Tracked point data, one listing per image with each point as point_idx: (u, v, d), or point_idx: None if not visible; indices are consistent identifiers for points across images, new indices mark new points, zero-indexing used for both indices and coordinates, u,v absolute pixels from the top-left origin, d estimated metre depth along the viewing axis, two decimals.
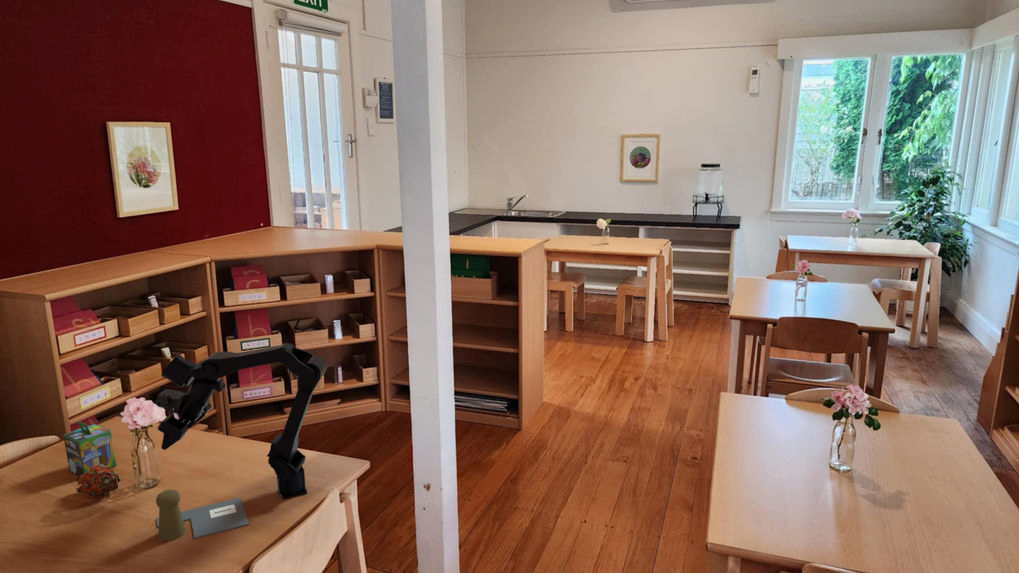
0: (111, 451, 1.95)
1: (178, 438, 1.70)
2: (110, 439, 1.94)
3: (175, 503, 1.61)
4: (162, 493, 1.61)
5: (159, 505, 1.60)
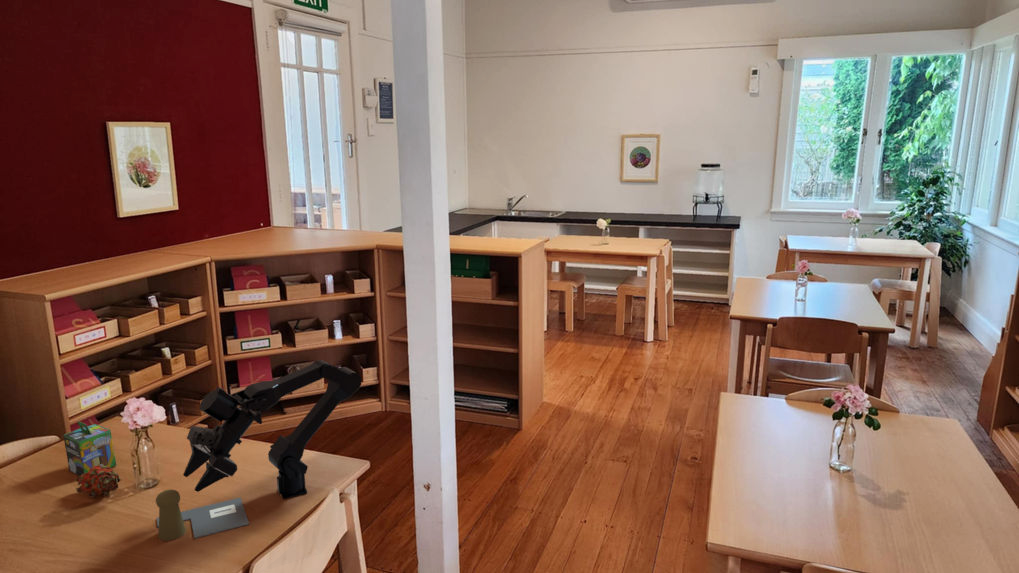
0: (111, 451, 1.95)
1: (233, 474, 1.62)
2: (110, 439, 1.94)
3: (175, 503, 1.61)
4: (162, 493, 1.61)
5: (159, 505, 1.60)
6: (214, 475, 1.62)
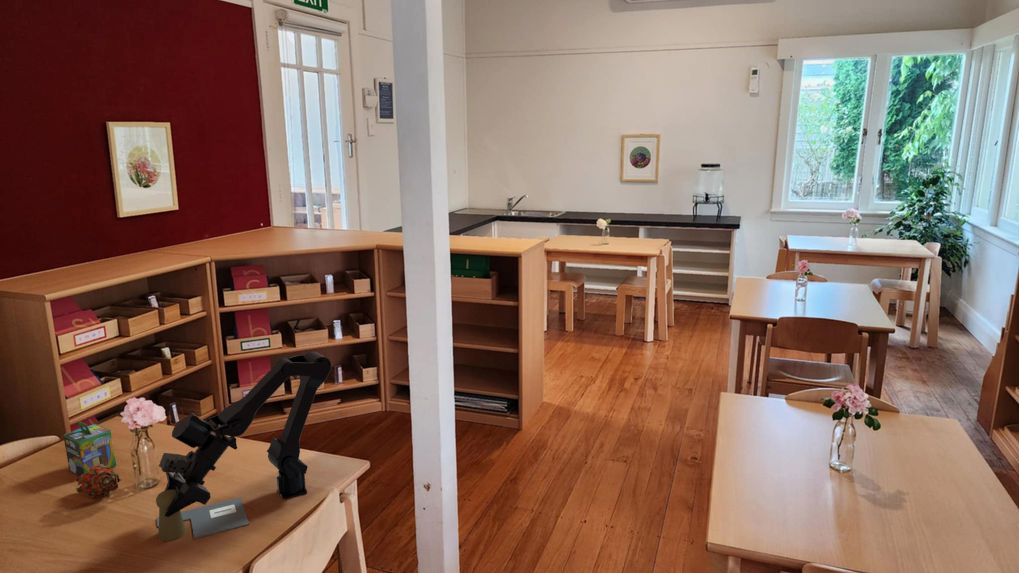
0: (111, 451, 1.95)
1: (206, 502, 1.59)
2: (110, 439, 1.94)
3: None
4: (162, 493, 1.61)
5: (159, 505, 1.60)
6: (184, 500, 1.61)
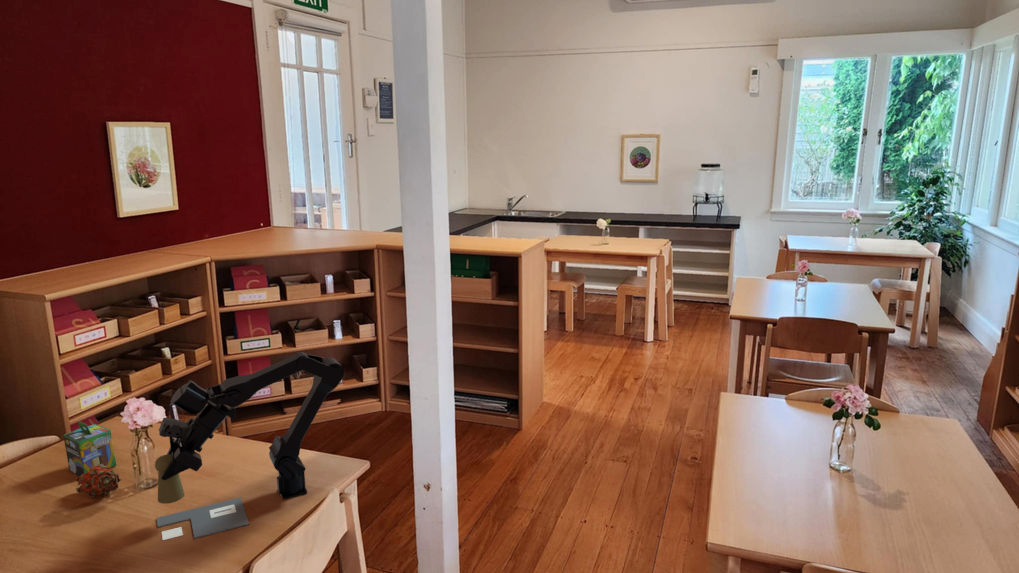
0: (111, 451, 1.95)
1: (197, 469, 1.60)
2: (110, 439, 1.94)
3: None
4: (161, 457, 1.65)
5: (157, 468, 1.63)
6: (180, 465, 1.63)
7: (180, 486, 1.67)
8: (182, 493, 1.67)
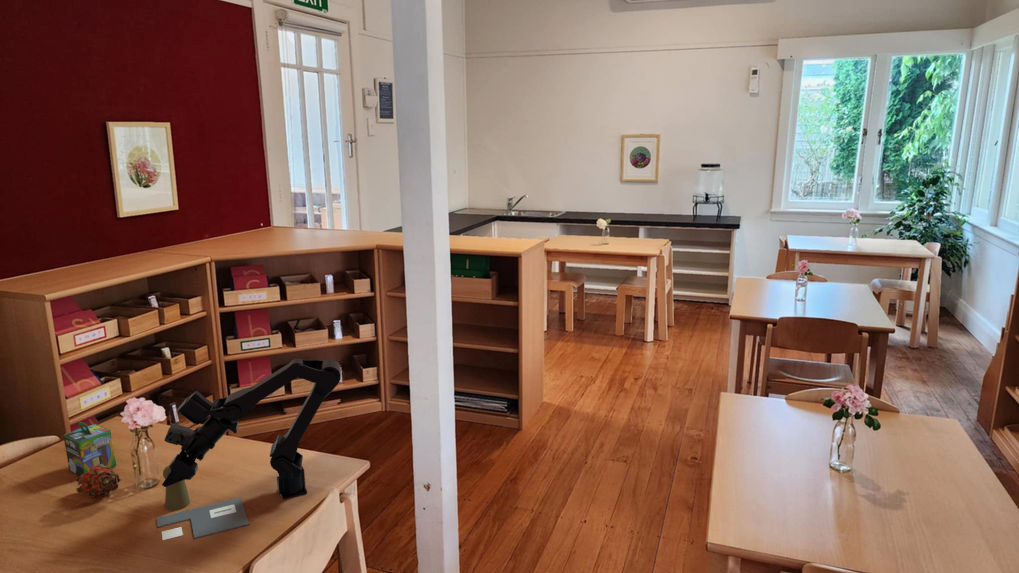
0: (111, 451, 1.95)
1: (190, 478, 1.67)
2: (110, 439, 1.94)
3: None
4: None
5: (163, 476, 1.73)
6: (178, 475, 1.69)
7: (185, 495, 1.75)
8: (186, 502, 1.76)
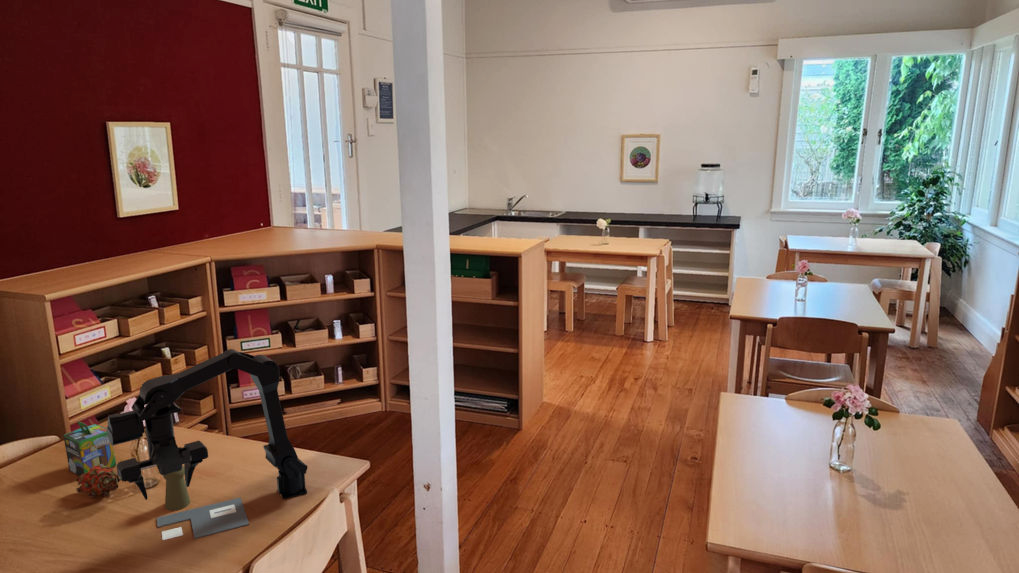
0: (111, 451, 1.95)
1: None
2: None
3: (176, 477, 1.73)
4: None
5: (163, 476, 1.73)
6: None
7: (185, 495, 1.75)
8: (186, 502, 1.76)
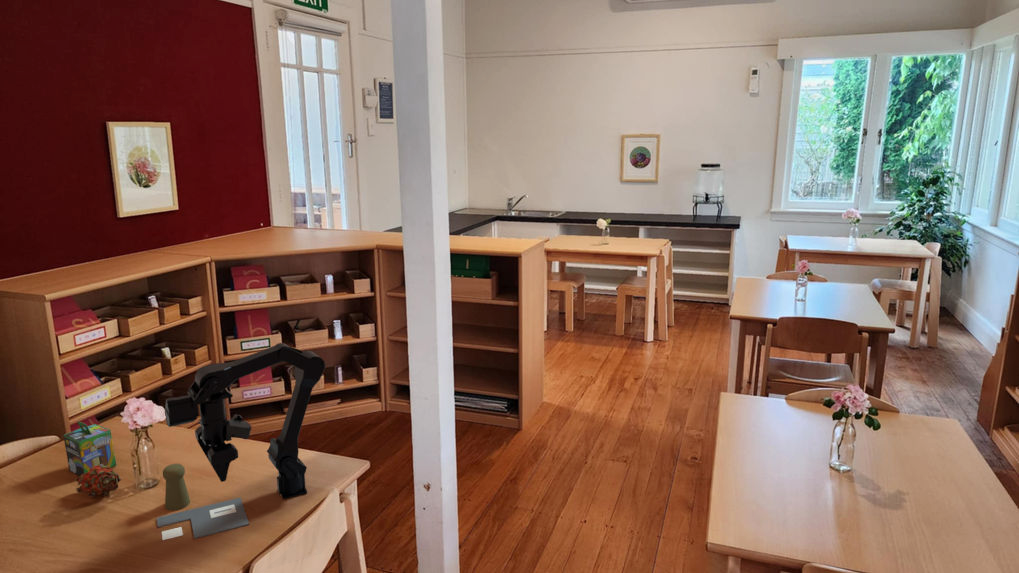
0: (111, 451, 1.95)
1: None
2: (110, 439, 1.94)
3: (176, 477, 1.73)
4: (169, 466, 1.74)
5: (163, 476, 1.73)
6: None
7: (185, 495, 1.75)
8: (186, 502, 1.76)
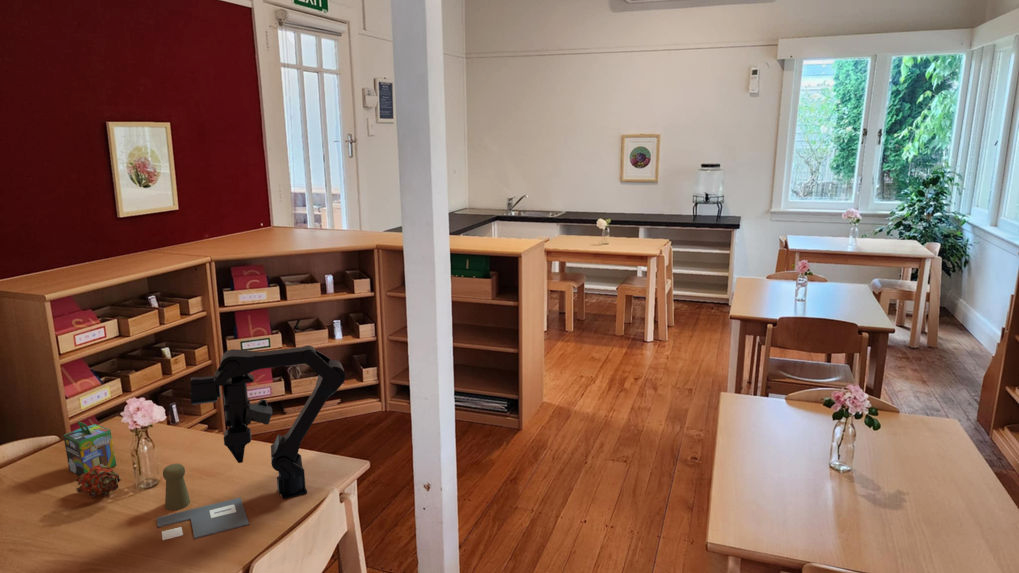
0: (111, 451, 1.95)
1: None
2: (110, 439, 1.94)
3: (176, 477, 1.73)
4: (169, 466, 1.74)
5: (163, 476, 1.73)
6: None
7: (185, 495, 1.75)
8: (186, 502, 1.76)
